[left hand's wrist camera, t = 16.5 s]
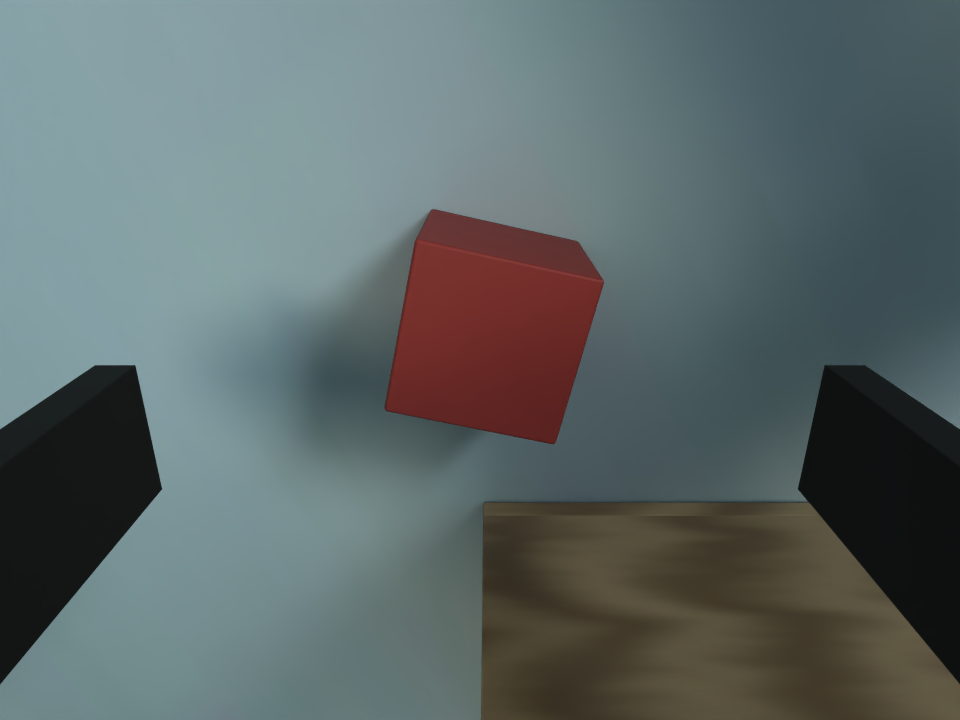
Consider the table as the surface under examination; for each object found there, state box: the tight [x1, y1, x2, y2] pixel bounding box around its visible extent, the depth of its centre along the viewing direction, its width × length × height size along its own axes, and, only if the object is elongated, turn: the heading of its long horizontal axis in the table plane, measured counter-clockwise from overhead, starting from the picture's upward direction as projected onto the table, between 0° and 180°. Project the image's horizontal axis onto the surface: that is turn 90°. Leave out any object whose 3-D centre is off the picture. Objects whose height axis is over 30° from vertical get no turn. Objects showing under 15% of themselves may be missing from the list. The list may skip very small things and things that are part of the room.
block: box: [385, 209, 604, 444], centre depth 18 cm, size 5×5×5 cm
